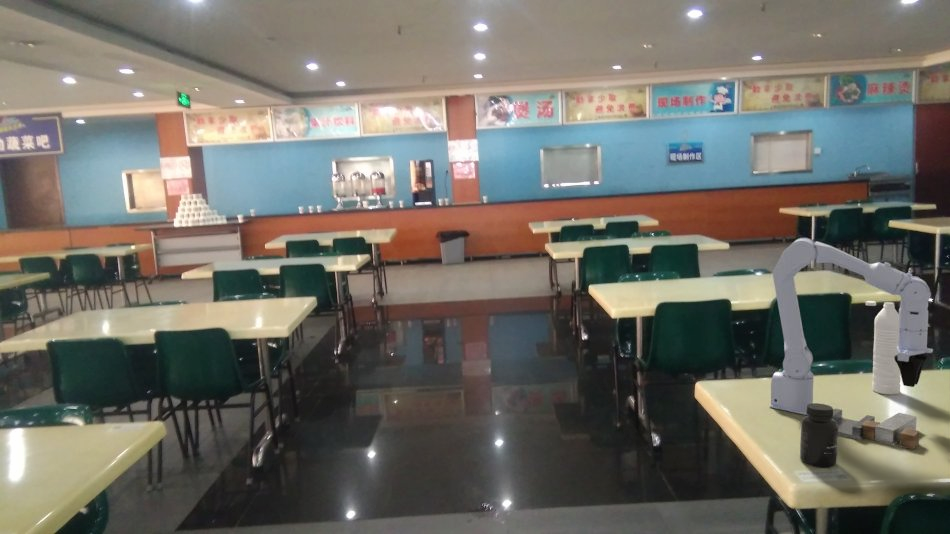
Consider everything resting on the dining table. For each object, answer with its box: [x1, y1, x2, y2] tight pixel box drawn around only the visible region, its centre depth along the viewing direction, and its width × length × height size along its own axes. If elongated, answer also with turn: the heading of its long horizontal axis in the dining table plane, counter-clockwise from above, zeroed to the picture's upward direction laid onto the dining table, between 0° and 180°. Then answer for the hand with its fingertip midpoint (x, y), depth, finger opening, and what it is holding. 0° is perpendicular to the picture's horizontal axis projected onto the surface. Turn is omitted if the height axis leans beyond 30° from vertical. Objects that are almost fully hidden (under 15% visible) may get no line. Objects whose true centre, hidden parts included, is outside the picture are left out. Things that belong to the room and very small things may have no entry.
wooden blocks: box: [861, 420, 920, 450], centre depth 142 cm, size 10×4×3 cm, turn 42°
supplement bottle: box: [799, 402, 839, 469], centre depth 132 cm, size 7×7×12 cm
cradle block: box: [832, 408, 876, 441], centre depth 149 cm, size 9×10×3 cm
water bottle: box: [864, 300, 901, 396], centre depth 174 cm, size 9×6×25 cm
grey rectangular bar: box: [874, 412, 917, 446], centre depth 145 cm, size 4×13×4 cm, turn 126°
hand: (910, 384), depth 151 cm, fingers closed
